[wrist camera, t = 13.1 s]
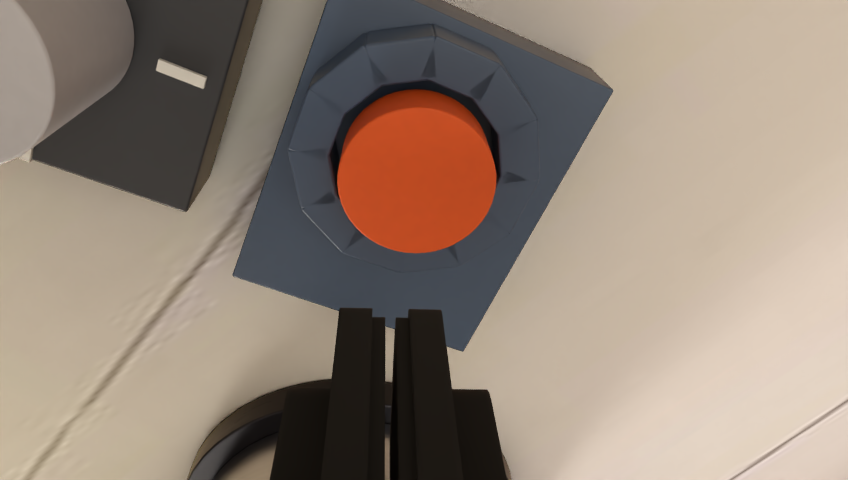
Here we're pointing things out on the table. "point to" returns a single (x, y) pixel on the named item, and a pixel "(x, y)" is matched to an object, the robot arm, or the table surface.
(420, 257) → the button housing
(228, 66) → the console
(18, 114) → the dial
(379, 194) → the button
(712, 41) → the table surface
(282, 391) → the kettle
